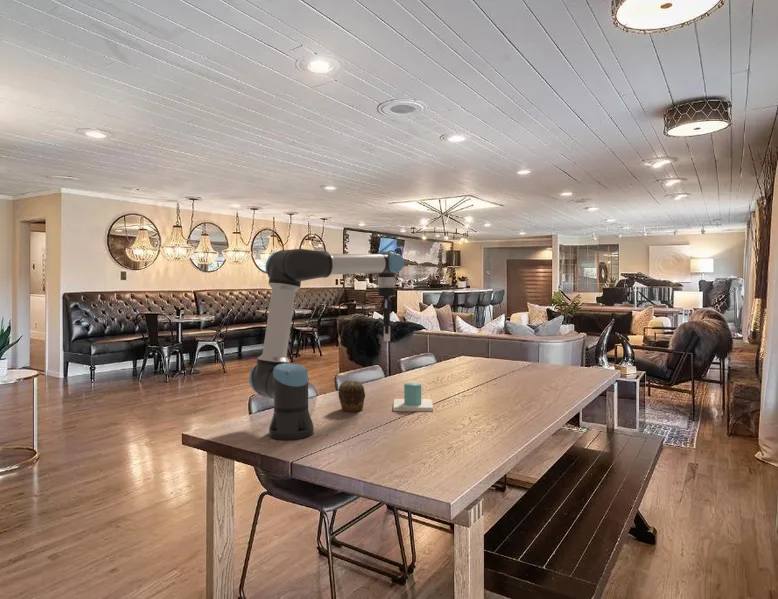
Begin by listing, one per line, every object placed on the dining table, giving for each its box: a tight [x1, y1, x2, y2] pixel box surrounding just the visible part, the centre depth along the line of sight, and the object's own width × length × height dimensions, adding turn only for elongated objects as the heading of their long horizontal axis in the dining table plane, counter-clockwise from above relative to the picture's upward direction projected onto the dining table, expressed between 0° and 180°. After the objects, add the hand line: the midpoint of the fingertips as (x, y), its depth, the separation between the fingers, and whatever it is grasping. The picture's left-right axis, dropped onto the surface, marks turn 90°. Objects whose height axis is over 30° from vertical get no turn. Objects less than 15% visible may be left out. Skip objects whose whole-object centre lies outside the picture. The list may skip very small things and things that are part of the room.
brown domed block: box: [338, 380, 366, 413], centre depth 206 cm, size 11×11×12 cm
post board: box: [392, 398, 434, 412], centre depth 211 cm, size 15×16×6 cm
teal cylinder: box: [403, 382, 422, 405], centre depth 210 cm, size 7×7×8 cm
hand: (387, 341), depth 221 cm, fingers closed
